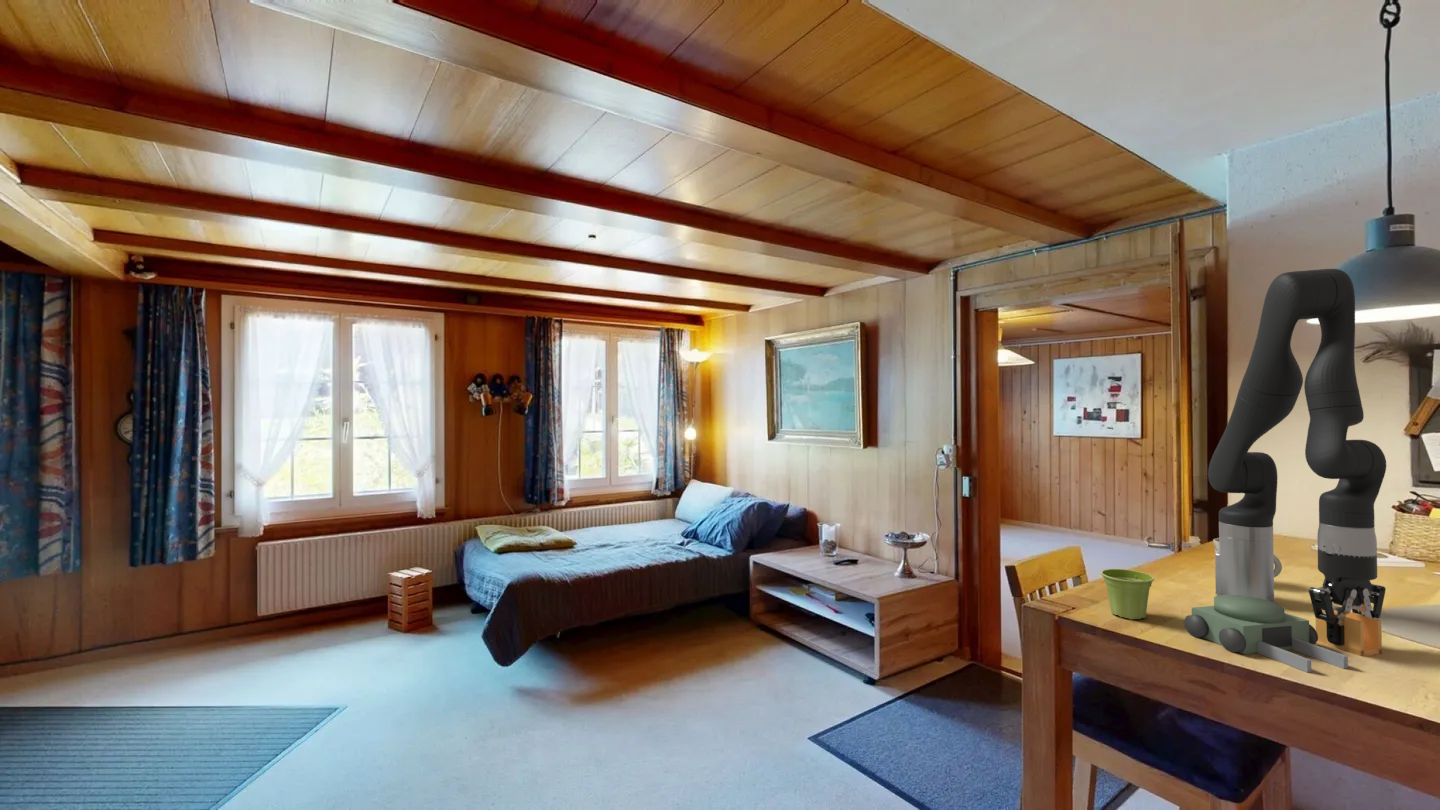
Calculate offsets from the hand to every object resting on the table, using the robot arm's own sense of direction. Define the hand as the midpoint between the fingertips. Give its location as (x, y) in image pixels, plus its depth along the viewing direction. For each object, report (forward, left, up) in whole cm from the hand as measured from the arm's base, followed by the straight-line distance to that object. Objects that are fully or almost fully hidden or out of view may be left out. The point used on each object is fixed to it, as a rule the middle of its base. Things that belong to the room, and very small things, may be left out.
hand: (1347, 642), depth 110 cm
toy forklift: (-2, -14, -1) cm, 14 cm away
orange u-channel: (0, 0, -1) cm, 1 cm away
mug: (-35, +20, -1) cm, 40 cm away
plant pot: (-22, -25, -1) cm, 33 cm away
